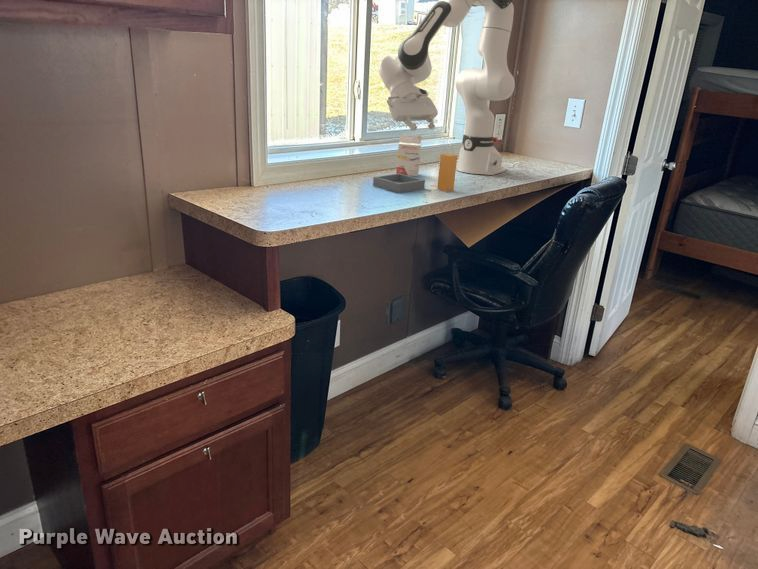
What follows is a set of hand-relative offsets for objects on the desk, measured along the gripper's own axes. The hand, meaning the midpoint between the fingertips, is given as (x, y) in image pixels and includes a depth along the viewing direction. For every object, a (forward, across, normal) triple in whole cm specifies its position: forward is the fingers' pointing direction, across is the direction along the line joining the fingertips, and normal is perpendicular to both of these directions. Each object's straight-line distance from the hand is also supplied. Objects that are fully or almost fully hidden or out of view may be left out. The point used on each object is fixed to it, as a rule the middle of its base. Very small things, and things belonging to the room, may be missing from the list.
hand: (423, 128), depth 195 cm
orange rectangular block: (+22, 0, +5) cm, 23 cm away
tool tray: (+14, -12, +12) cm, 22 cm away
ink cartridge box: (+5, +7, +22) cm, 24 cm away
